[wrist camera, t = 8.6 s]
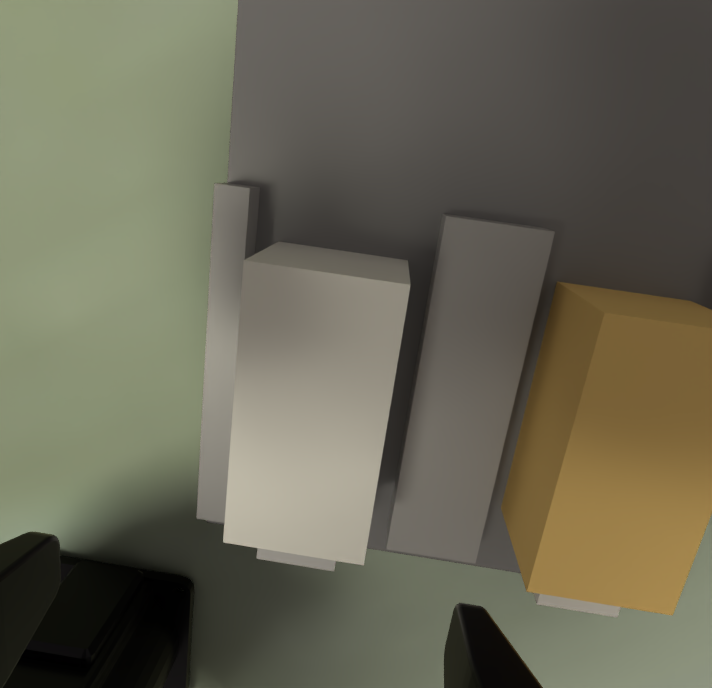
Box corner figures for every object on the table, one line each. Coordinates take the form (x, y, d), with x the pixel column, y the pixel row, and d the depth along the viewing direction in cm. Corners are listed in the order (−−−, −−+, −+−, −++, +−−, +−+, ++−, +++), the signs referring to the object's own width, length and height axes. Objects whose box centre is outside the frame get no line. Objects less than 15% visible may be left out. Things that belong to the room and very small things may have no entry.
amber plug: (690, 300, 16) (779, 338, 13) (607, 555, 19) (659, 649, 15) (557, 281, 17) (604, 312, 13) (493, 537, 19) (516, 625, 15)
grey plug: (407, 260, 17) (410, 284, 13) (365, 516, 19) (358, 600, 16) (278, 241, 17) (243, 260, 13) (255, 499, 20) (220, 577, 16)
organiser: (629, 564, 21) (662, 619, 18) (219, 499, 21) (195, 542, 19) (883, -174, 14) (991, -253, 11) (270, -245, 15) (242, -336, 12)
